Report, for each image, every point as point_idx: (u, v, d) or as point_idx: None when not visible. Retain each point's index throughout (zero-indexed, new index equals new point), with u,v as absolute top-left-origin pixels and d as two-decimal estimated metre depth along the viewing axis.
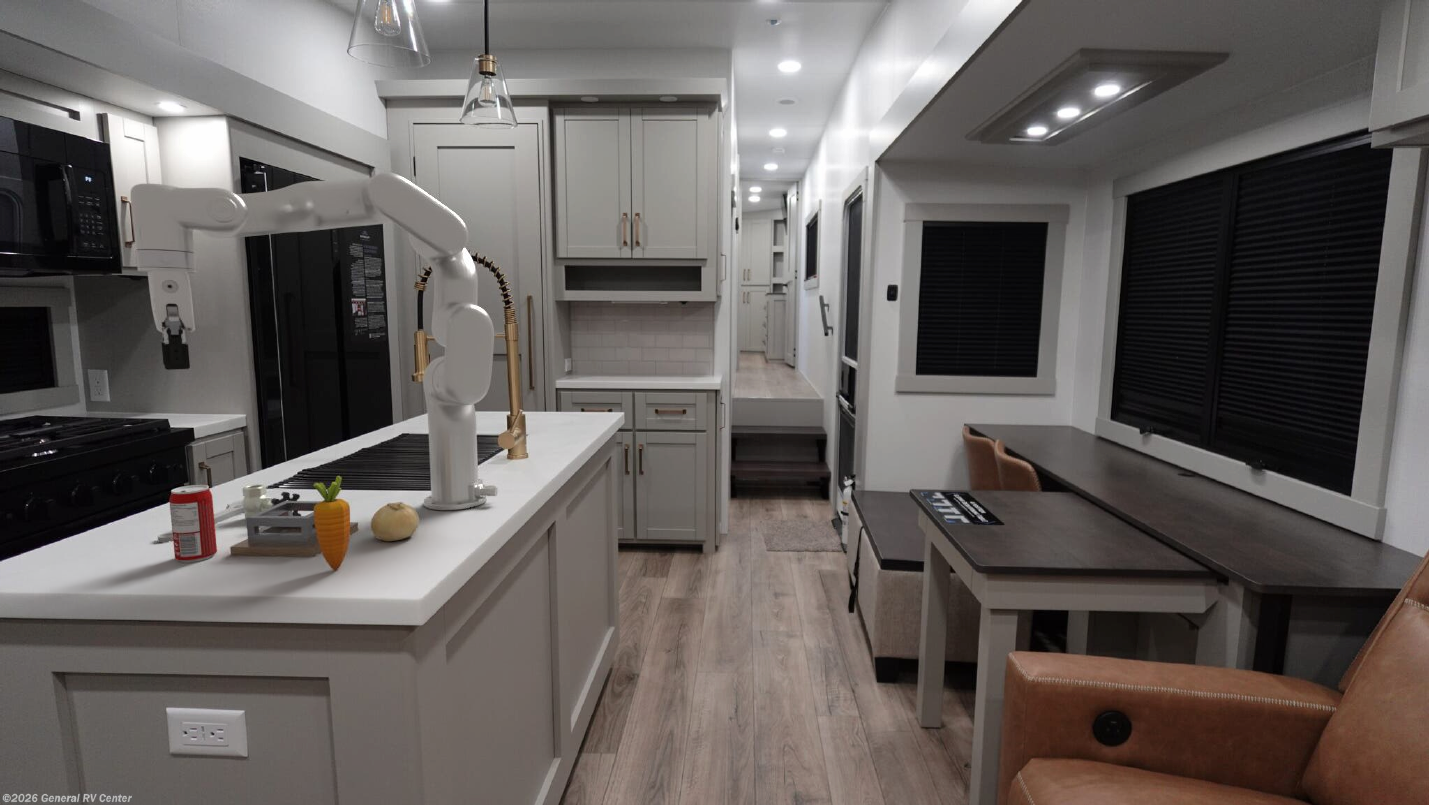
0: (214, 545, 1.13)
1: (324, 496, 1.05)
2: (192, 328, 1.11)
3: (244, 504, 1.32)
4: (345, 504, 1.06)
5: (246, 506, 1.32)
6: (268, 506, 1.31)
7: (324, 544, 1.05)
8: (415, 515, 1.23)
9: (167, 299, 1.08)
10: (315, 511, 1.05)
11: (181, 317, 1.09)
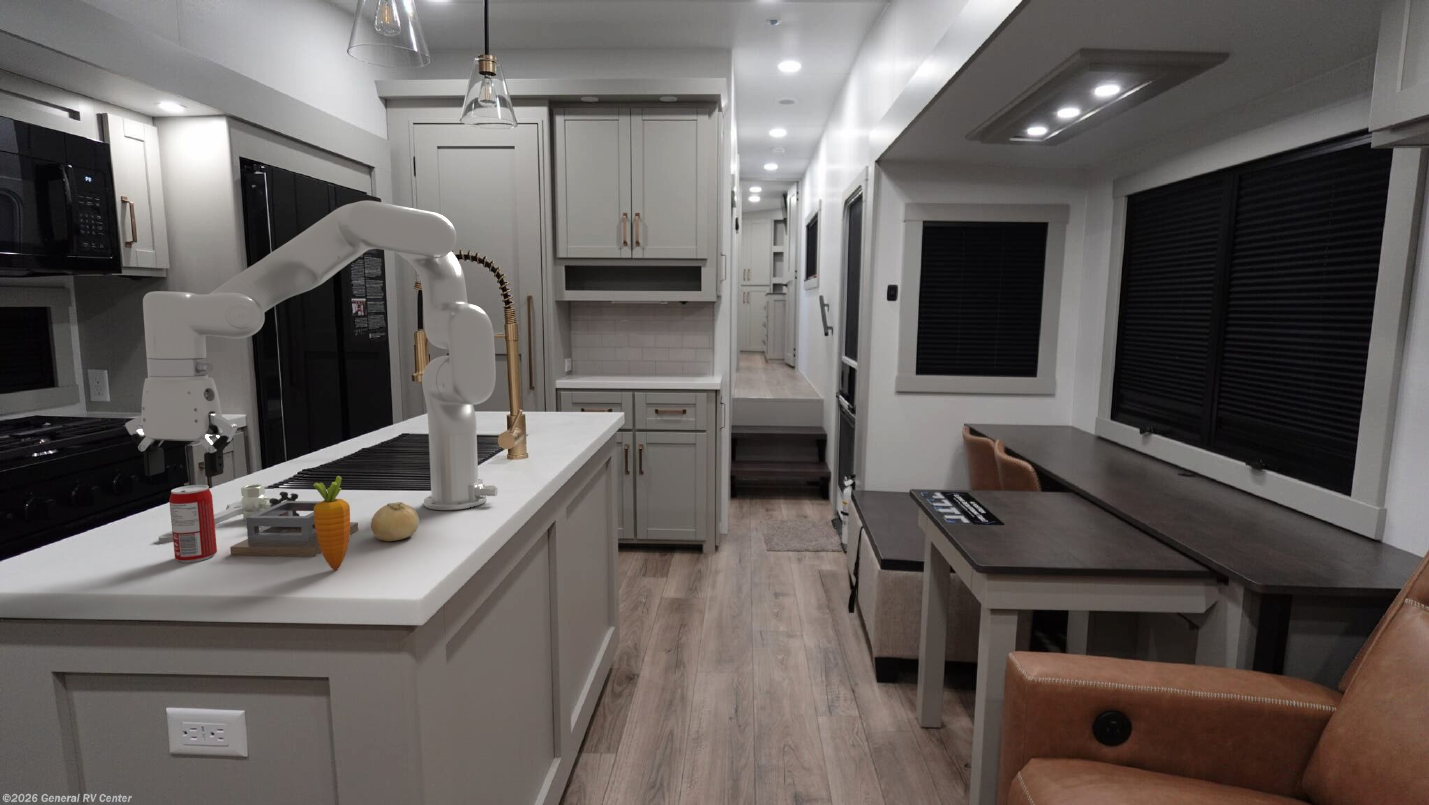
0: (214, 545, 1.13)
1: (324, 496, 1.05)
2: (221, 433, 1.12)
3: (243, 504, 1.32)
4: (345, 504, 1.06)
5: (244, 506, 1.32)
6: (266, 506, 1.31)
7: (324, 544, 1.05)
8: (415, 515, 1.23)
9: (209, 407, 1.09)
10: (315, 511, 1.04)
11: None
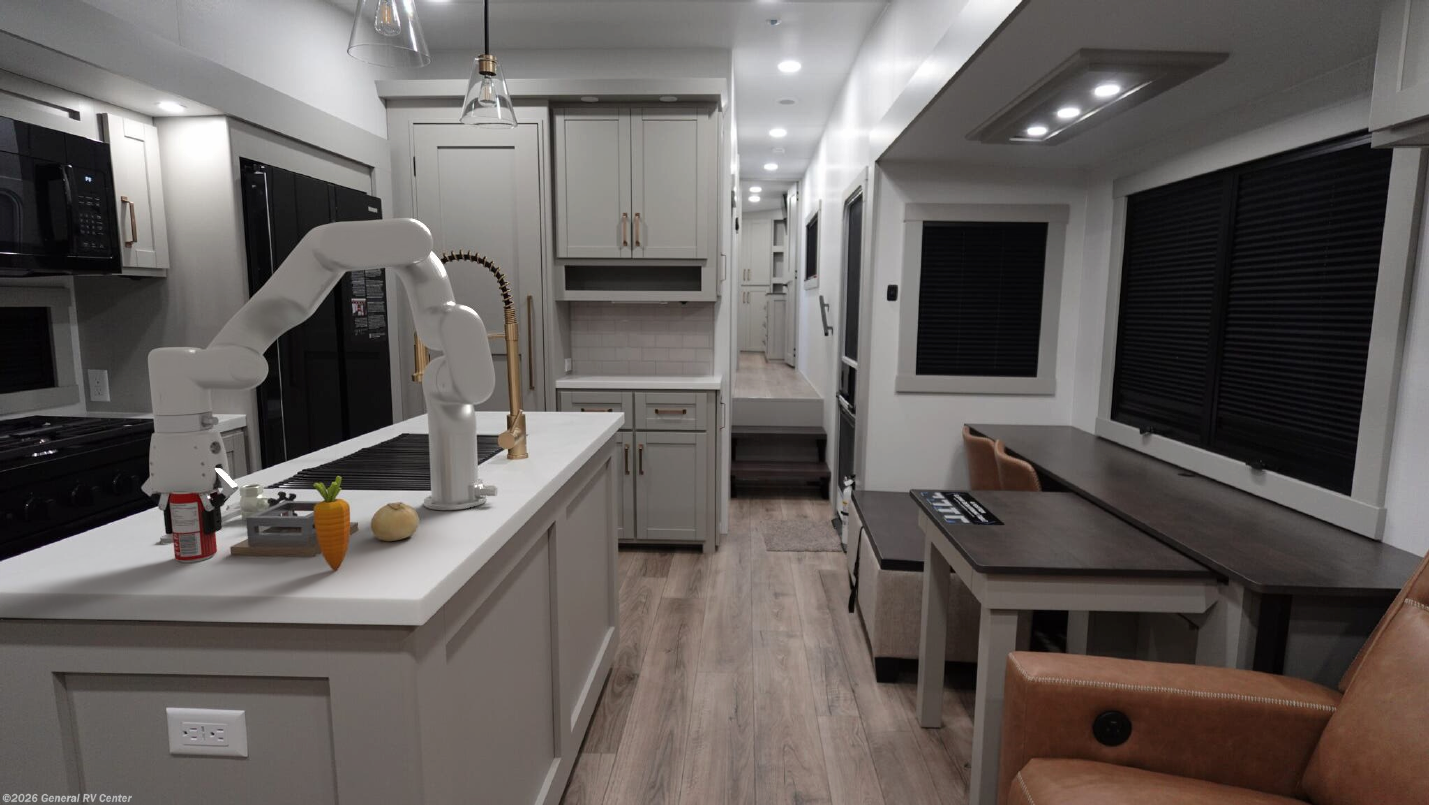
0: (214, 545, 1.13)
1: (324, 496, 1.05)
2: None
3: (241, 503, 1.32)
4: (345, 504, 1.06)
5: (243, 506, 1.32)
6: (265, 506, 1.31)
7: (324, 544, 1.05)
8: (415, 515, 1.23)
9: (215, 460, 1.10)
10: (315, 511, 1.05)
11: None
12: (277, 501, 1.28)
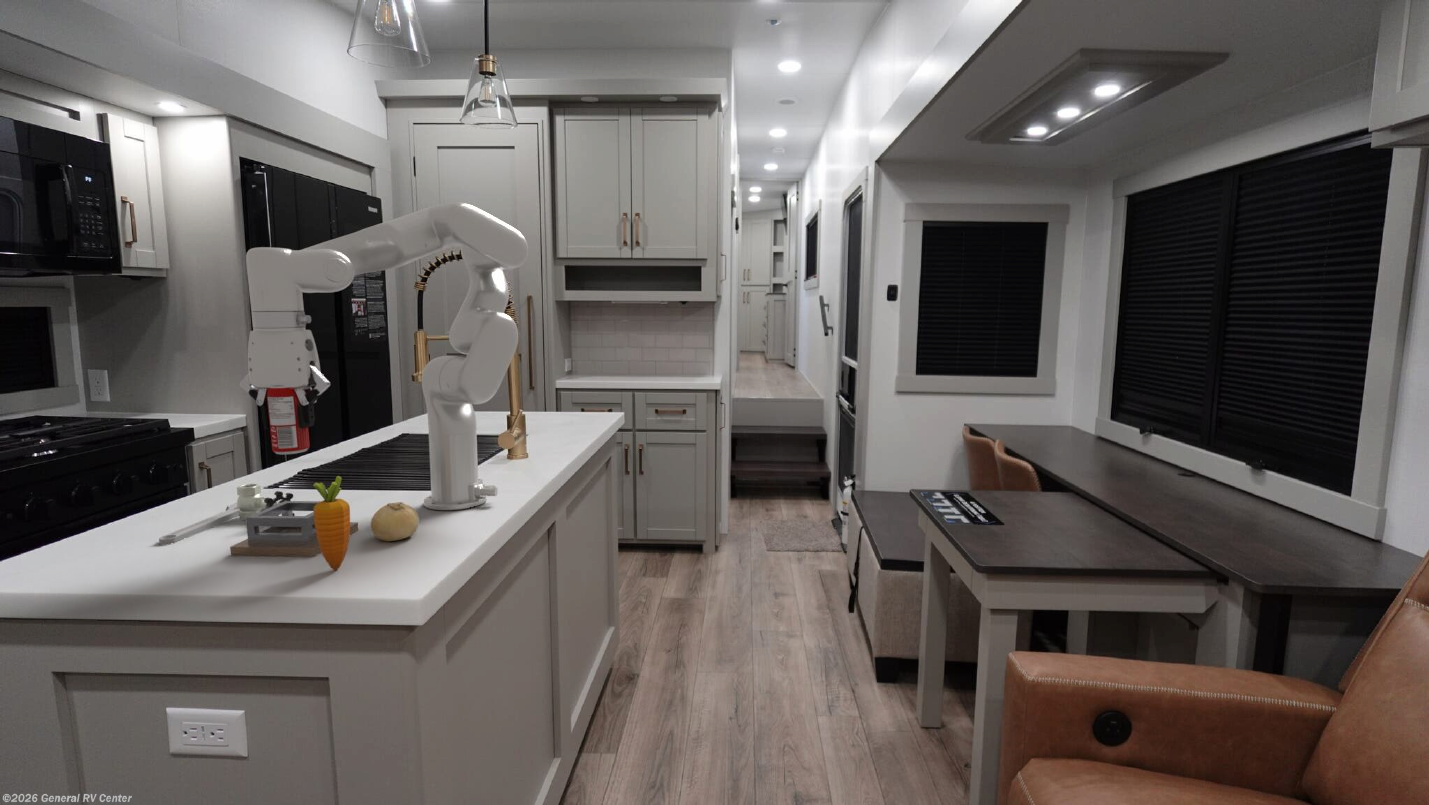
0: (308, 440, 1.19)
1: (324, 496, 1.05)
2: None
3: (238, 503, 1.32)
4: (345, 504, 1.06)
5: (240, 505, 1.32)
6: (262, 505, 1.31)
7: (324, 544, 1.05)
8: (415, 515, 1.23)
9: (309, 357, 1.16)
10: (315, 511, 1.05)
11: None
12: (274, 501, 1.29)
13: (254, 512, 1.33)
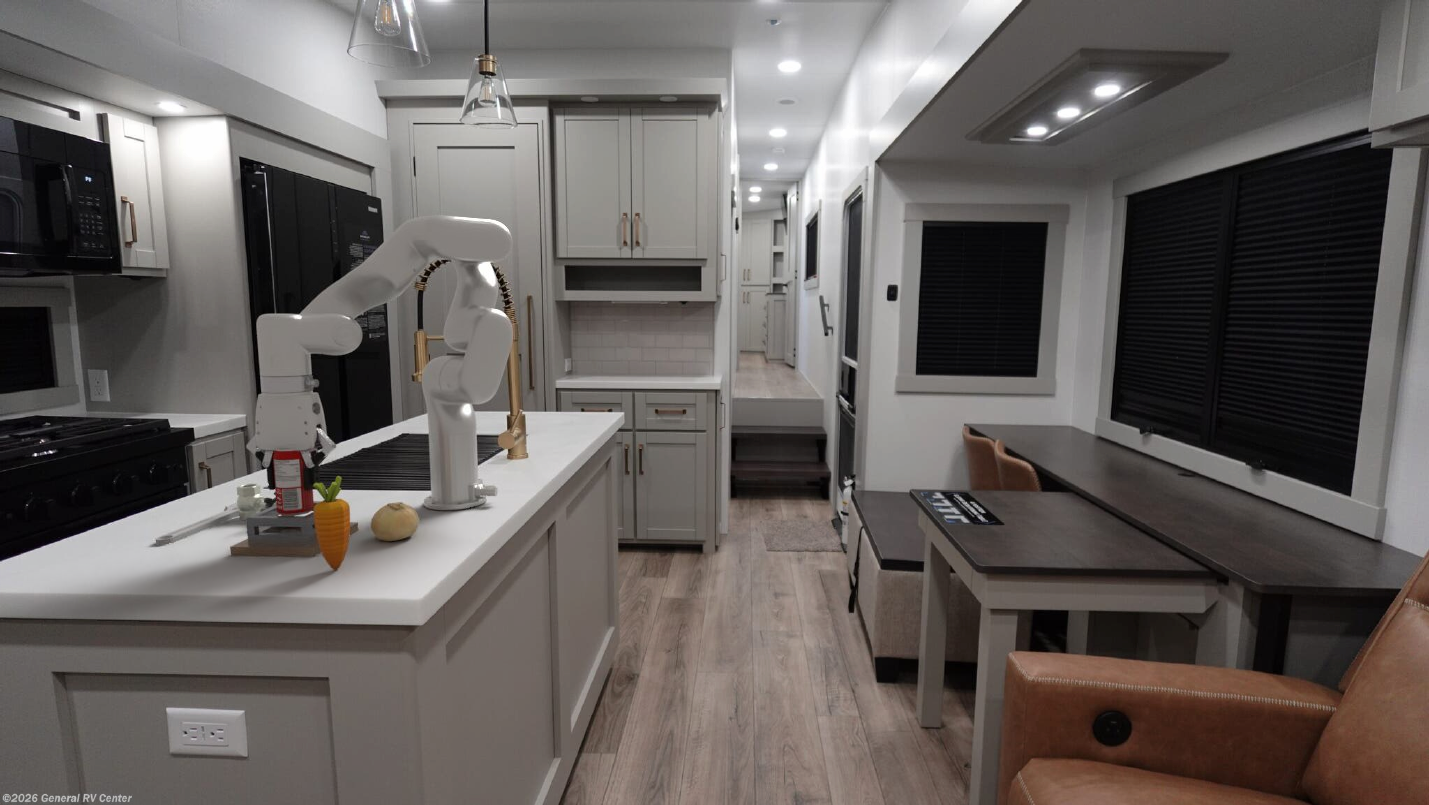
0: (312, 501, 1.20)
1: (324, 496, 1.05)
2: None
3: (238, 503, 1.32)
4: (345, 504, 1.06)
5: (240, 505, 1.32)
6: (261, 505, 1.31)
7: (324, 544, 1.05)
8: (415, 515, 1.23)
9: (316, 420, 1.17)
10: (315, 511, 1.04)
11: None
12: (273, 501, 1.29)
13: (254, 512, 1.33)
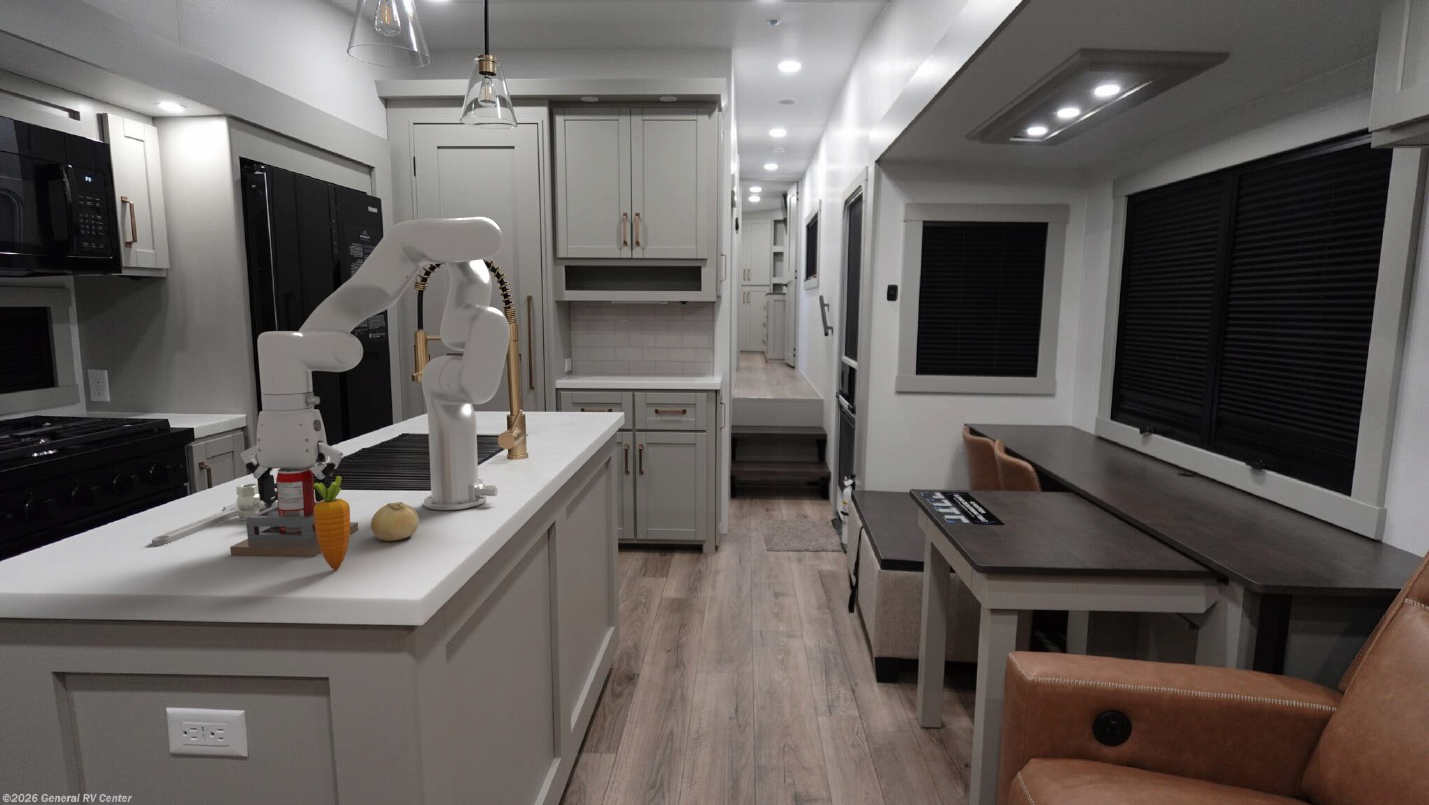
0: None
1: (324, 496, 1.05)
2: (326, 460, 1.21)
3: (238, 503, 1.33)
4: (345, 504, 1.06)
5: (239, 505, 1.32)
6: (261, 505, 1.31)
7: (324, 544, 1.05)
8: (415, 515, 1.23)
9: (317, 437, 1.17)
10: (315, 511, 1.04)
11: None
12: (272, 500, 1.29)
13: (253, 512, 1.34)
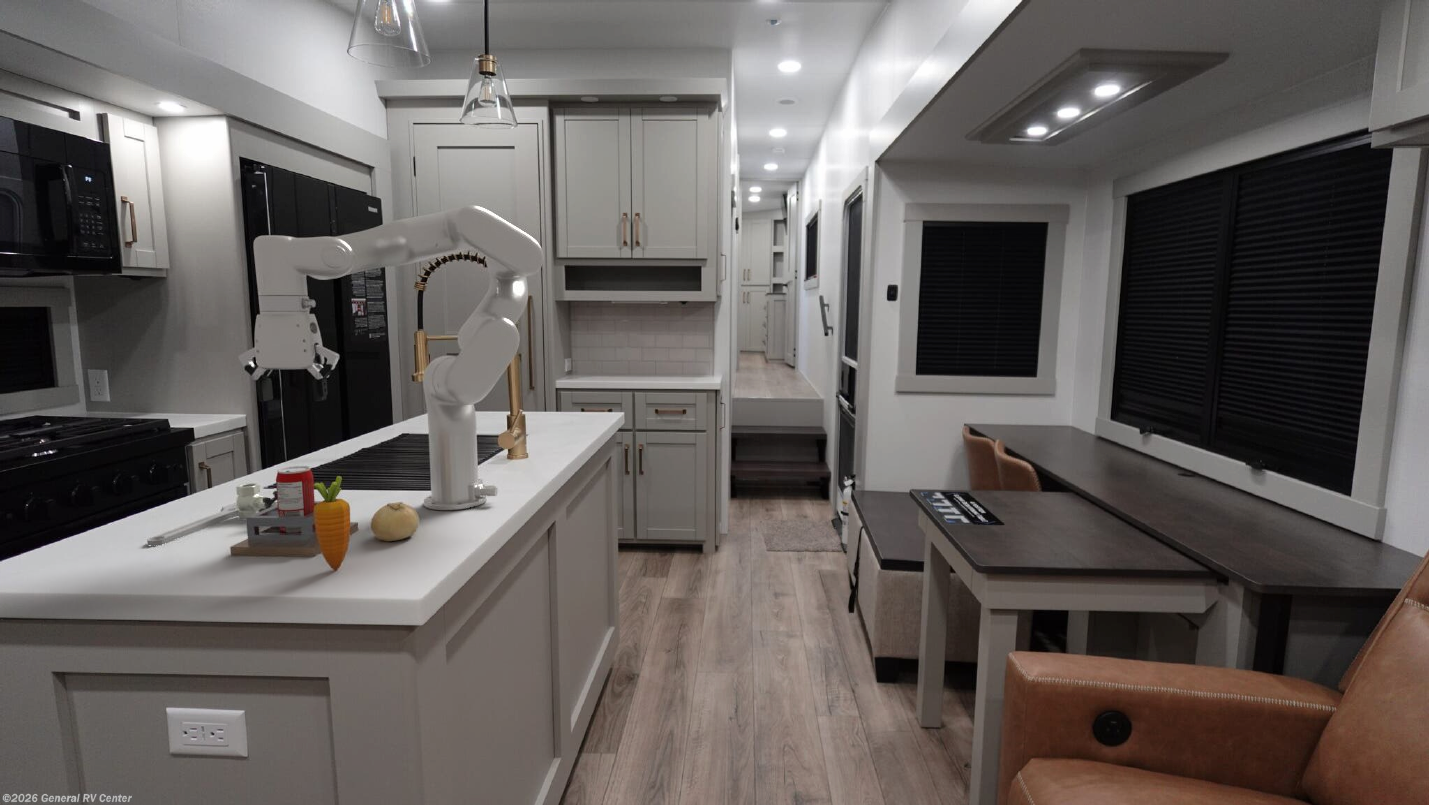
0: None
1: (325, 496, 1.05)
2: (323, 363, 1.26)
3: (237, 503, 1.33)
4: (345, 504, 1.06)
5: (239, 505, 1.32)
6: (260, 505, 1.31)
7: (324, 544, 1.05)
8: (415, 515, 1.23)
9: (314, 339, 1.23)
10: (315, 511, 1.05)
11: (320, 354, 1.25)
12: (272, 500, 1.29)
13: (253, 512, 1.34)
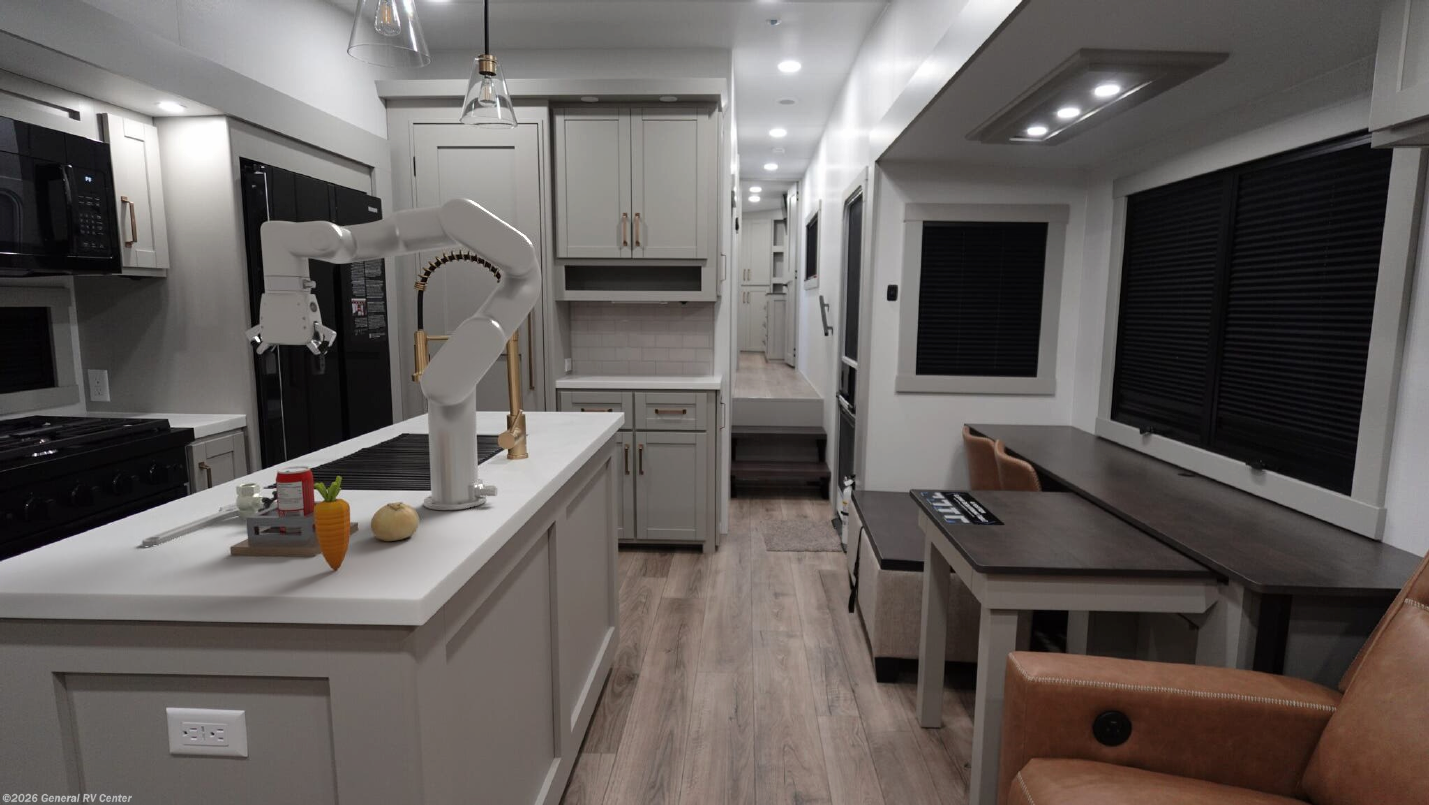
0: None
1: (325, 496, 1.05)
2: (322, 340, 1.36)
3: (237, 502, 1.33)
4: (345, 504, 1.06)
5: (239, 504, 1.33)
6: (260, 505, 1.31)
7: (324, 544, 1.05)
8: (415, 515, 1.23)
9: (313, 317, 1.33)
10: (315, 511, 1.04)
11: (319, 332, 1.35)
12: (271, 500, 1.29)
13: (253, 511, 1.34)
